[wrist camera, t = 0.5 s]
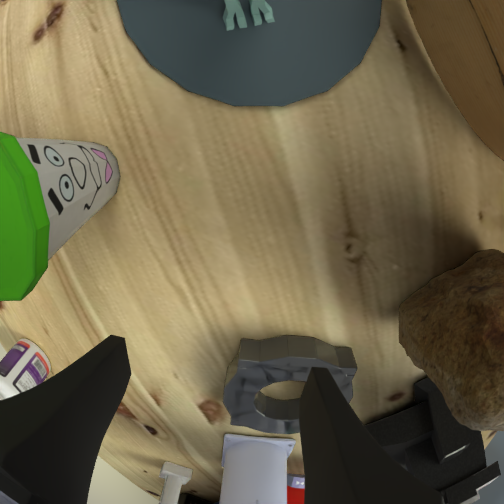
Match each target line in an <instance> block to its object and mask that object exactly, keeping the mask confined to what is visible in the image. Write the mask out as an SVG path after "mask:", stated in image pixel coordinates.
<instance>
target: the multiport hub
mask: <svg viewBox="0 0 504 504" xmlns="http://www.w3.org/2000/svg"><path fill="white" fill-rule="evenodd" d="M177 504H213V503H210V502H207V501H204V500H202V499H199V498H196V497H194V496H191V495H189V494H181V493H180V494H179V499H178V503H177Z"/></svg>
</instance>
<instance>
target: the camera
mask: <svg viewBox="0 0 504 504" xmlns="http://www.w3.org/2000/svg"><path fill="white" fill-rule="evenodd" d="M414 391H415V403H417V402H421V401H425V402H422V403H420V404H418V405H416V406H414V407H411V408H409V409H407V410H404V411H402V412H399V413H397V414H394V415H392V416H389V417H387V418H384V419H381V420H379V421H376V422H373V423H370V424H368V425H365V428H366V429H367V430H368V432H369V433H370V434H371V435H372V437H373V438H374V439H375V440H376V441H377V442H378V444H379V445H380V446H381V447H382V448H383V449H384V450H385V451H386V452H387V453H388V454H389V455H390V456H391V457H392V458H393V459H394V460H395V461H396V462H398V463H399V464H400V465H401V466H402V467H403V468H407V470H408V472H409V473H411V474H412V475H413V476H415V477H416V478H417V479H419V480H420V481H422V482H423V483H425V484H426V485H428V486H430V487H431V488H433V489H435V490H436V491H438V492H440V493H441V494H442V496H443V499H444V502H445V504H471V503H473V502H475V501H477V500H479V499H480V497H479V493H478V490H479V489H481V488H483V487H484V486H486V485H488V484H489V483H491V482H492V481H493V480H495V479H496V478H497V477H498V476H500V475H501V473H500V469H499V464H498V461H497V462H495V463H493V464H492V465H490V466H488V467H487V466H486V458H485V451H484V445H483V440H482V435H481V431H479V430H471V429H470V428H468V427H467V426H465V425H463V424H460V423H459V422H458V421H457V420H456V418H455V417H454V416H453V415H452V412H451V411H450V409H449V408H448V406H447V404H446V402H445V399H444V397H443V394H442V393H441V391H440V390H439V389H438V387H437V386H436V384H435V383H434V382H432V381H431V379H430V378H429V377H428V378H426V379H423V380H421V381H419V382H417V383H415V384H414ZM426 400H427V401H426Z"/></svg>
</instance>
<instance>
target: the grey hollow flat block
mask: <svg viewBox="0 0 504 504" xmlns="http://www.w3.org/2000/svg"><path fill="white" fill-rule="evenodd" d="M311 367H324V368H328V370H329V371H330V373H331V375H332V376H333V378H334V380H335V382H336V384H337V385H338V387H339V389H340V390H341V392H342V394H343V395H344V397H345V399H346V400H347V402H348V403H349V402H350V401H351V399H352V397H353V388H352V380H353V377H354V375H355V373H356V371H357V364H356V361H355V358H354V355H353V351H352V348H348V347H334V346H332V345H330V344H328V343H325V342H323V341H321V340H319V339H316V338H314V337H305V336H294V335H284V336H279V337H274V338H269V339H264V340H252V339H244V338H241V342H240V350H239V353H238V354H237V356H236V357H235V358H234V359H233V361H232V362H231V363H230V365H229V366H228V368H227V374H226V380H225V386H224V396H223V403H224V405H225V407H226V408H227V410H228V412H229V413H230V415H231V422H230V424H231V425H236V426H245V427H249V428H252V429H255V430H258V431H262V432H265V433H277V434H293V433H300V426H299V399H300V398H298V399H292V400H276V399H273V398H270V397H267V396H265V395H264V394H263V393H261V392H260V390H261V389H262V388H263V387H266V386H268V385H270V384H272V383H275V382H281V381H287V380H294V381H305V382H306V381H307V378H308V375H309V373H310V370H311Z"/></svg>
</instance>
